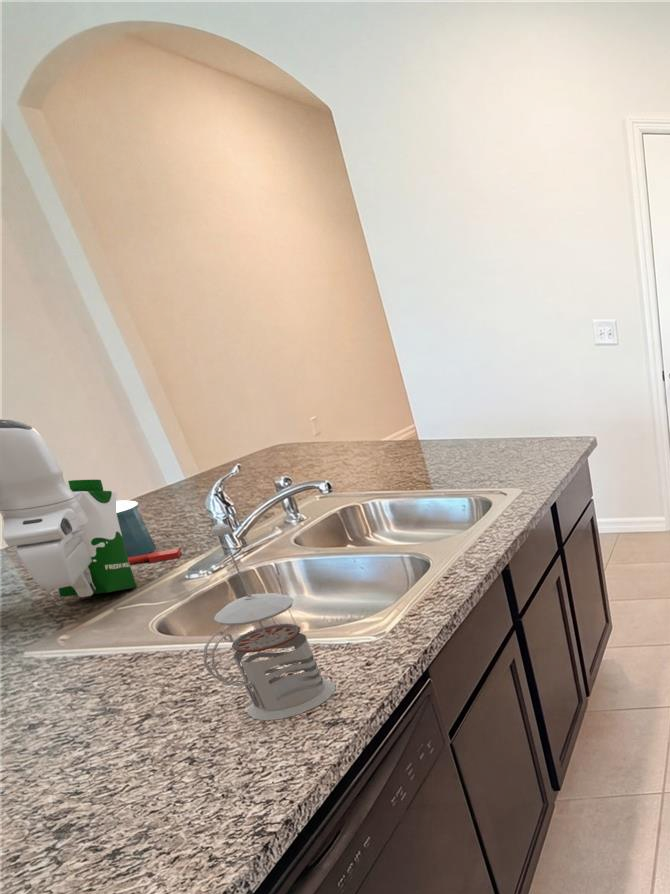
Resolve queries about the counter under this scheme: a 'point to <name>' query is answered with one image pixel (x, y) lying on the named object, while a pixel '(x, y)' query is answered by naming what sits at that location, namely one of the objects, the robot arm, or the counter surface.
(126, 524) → the pot
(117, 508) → the white round shallow piece
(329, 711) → the counter surface
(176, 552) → the red long bar
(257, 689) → the french press
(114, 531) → the milk carton
